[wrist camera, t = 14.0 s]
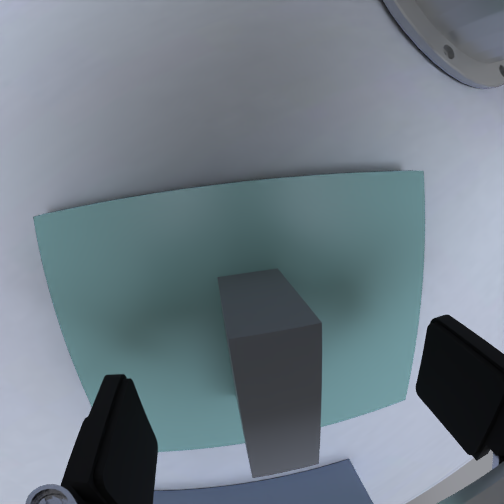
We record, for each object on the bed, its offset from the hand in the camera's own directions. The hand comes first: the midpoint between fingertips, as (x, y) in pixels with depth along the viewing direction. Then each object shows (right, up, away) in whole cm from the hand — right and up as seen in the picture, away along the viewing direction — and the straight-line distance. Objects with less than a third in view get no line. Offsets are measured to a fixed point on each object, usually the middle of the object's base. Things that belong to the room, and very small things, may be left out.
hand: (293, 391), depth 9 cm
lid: (-1, +1, +6) cm, 7 cm away
